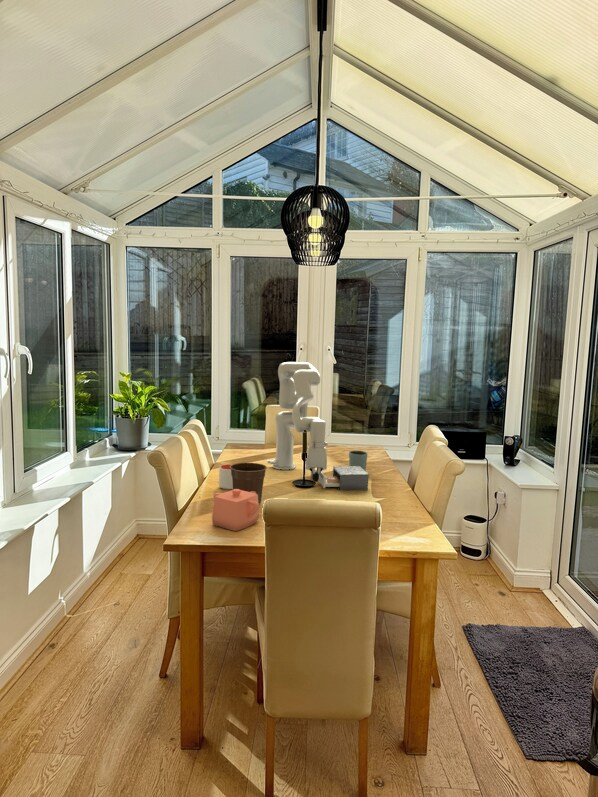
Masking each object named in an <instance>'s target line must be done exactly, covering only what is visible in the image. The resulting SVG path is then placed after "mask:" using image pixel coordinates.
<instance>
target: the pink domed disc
mask: <svg viewBox="0 0 598 797" xmlns="http://www.w3.org/2000/svg"><path fill="white" fill-rule="evenodd" d="M326 477H327V482H328V483H340V477H337V476H333V475H330V476H326Z"/></svg>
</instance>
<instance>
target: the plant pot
mask: <svg viewBox="0 0 598 797" xmlns="http://www.w3.org/2000/svg"><path fill="white" fill-rule="evenodd" d="M230 465H231V466H230V469H231V476H232V481H233V489H240V490H243V491H247V492H250V491H254V492H256V494H257V495H258V504H259V505H260V504H261V502H262V495H263V487H264V480H265V479H264V478H265V477H266V471H267V469H268V467H267V465H265V464H261V463H257V462H237V463H232V464H230ZM233 489H232V490H233Z"/></svg>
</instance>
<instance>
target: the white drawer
mask: <svg viewBox="0 0 598 797" xmlns="http://www.w3.org/2000/svg"><path fill="white" fill-rule="evenodd" d="M327 477H328V476H326V474H324V472H323V470H322V471H321V472H320V474H319V480H318V482H319V484H320V485H321V486H322V487H323V489H326V487H328V488H329V487H333V488H337V487H340V483H328V482H327Z"/></svg>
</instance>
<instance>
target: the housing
mask: <svg viewBox="0 0 598 797" xmlns="http://www.w3.org/2000/svg"><path fill="white" fill-rule="evenodd" d="M332 476H337V477H340V487H338V488H339V489H340V490H347V491H368V490H369V476H370V475H369V473H368V472H367V470H366V471H364V470H363V469H362V468H361V467H360V466H349V465H343V466H342V465H334V466H332ZM338 488H337V489H338ZM339 489H338V490H339ZM340 490H339V491H340Z"/></svg>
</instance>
